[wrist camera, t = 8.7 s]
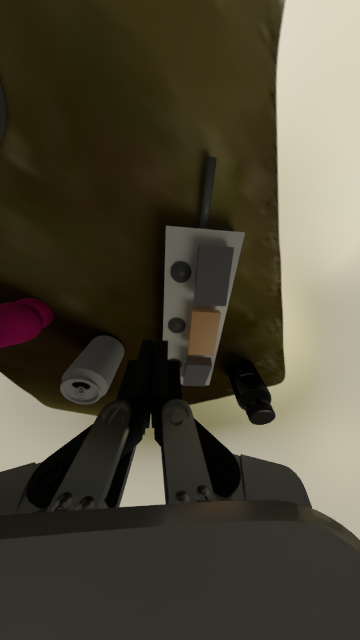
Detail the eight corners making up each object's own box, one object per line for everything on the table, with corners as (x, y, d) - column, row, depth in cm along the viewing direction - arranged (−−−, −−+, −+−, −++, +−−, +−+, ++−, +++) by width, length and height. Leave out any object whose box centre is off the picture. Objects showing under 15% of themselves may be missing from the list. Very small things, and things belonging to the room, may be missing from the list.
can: (125, 335, 34) (102, 379, 24) (125, 361, 38) (104, 409, 27) (90, 330, 33) (50, 374, 23) (93, 357, 37) (59, 405, 26)
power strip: (169, 158, 21) (167, 139, 17) (249, 167, 22) (266, 150, 17) (163, 370, 39) (161, 385, 35) (206, 372, 40) (209, 387, 36)
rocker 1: (198, 247, 22) (200, 244, 21) (229, 249, 23) (234, 247, 21) (193, 302, 24) (194, 304, 23) (222, 304, 24) (225, 306, 23)
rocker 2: (191, 308, 26) (192, 311, 25) (218, 309, 27) (221, 313, 25) (187, 349, 29) (187, 354, 27) (211, 350, 29) (213, 355, 28)
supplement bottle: (242, 354, 37) (268, 401, 27) (259, 368, 39) (289, 416, 29) (221, 370, 40) (237, 419, 29) (237, 382, 42) (258, 432, 31)
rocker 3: (186, 356, 29) (187, 364, 28) (210, 357, 30) (212, 365, 28) (182, 377, 35) (183, 385, 33) (203, 378, 35) (204, 386, 34)
